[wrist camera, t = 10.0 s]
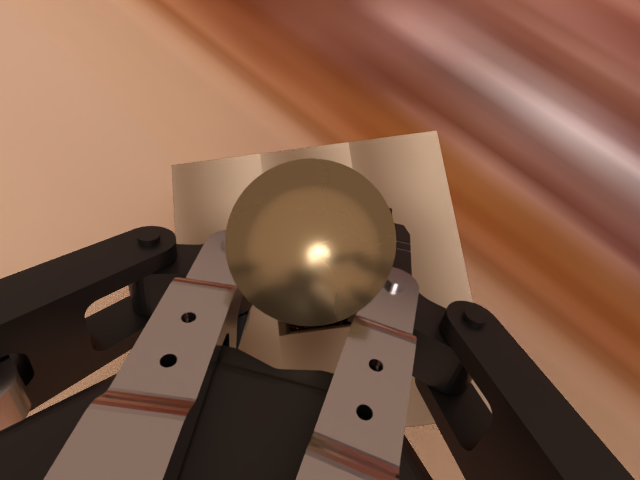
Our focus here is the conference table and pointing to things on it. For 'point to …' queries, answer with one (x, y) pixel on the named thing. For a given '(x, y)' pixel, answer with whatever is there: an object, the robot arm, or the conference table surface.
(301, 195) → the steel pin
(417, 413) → the maple hitch block
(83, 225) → the conference table surface
